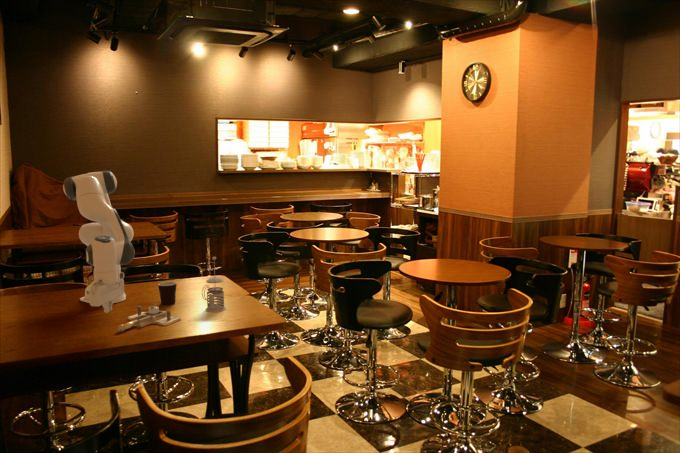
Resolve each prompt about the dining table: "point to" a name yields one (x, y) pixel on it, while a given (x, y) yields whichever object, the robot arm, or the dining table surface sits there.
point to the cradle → (153, 318)
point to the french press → (214, 295)
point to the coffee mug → (167, 293)
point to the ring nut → (153, 310)
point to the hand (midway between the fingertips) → (108, 311)
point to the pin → (127, 325)
